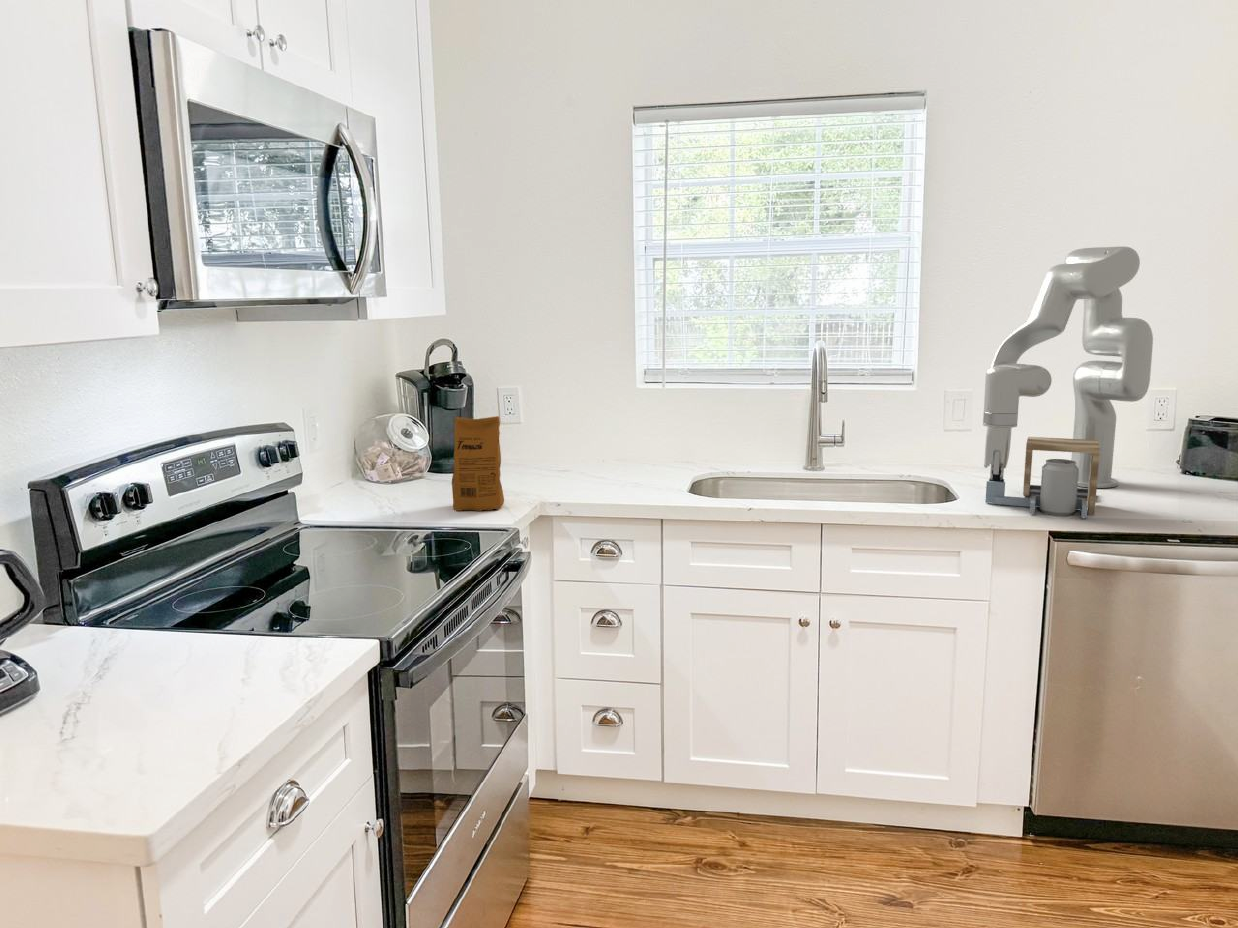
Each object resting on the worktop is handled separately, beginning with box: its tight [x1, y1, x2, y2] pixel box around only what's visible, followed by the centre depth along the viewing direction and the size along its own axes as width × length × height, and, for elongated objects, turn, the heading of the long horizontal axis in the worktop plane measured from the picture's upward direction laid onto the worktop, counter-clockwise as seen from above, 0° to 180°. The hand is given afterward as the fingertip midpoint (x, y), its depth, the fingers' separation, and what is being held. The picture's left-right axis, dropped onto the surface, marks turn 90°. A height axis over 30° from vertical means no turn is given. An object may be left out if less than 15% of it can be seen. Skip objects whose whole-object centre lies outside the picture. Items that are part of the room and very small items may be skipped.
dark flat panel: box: [1023, 484, 1088, 499], centre depth 229 cm, size 8×15×1 cm, turn 65°
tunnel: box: [1022, 436, 1100, 516], centre depth 216 cm, size 12×15×15 cm
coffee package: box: [451, 415, 505, 512], centre depth 223 cm, size 10×12×22 cm
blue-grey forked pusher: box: [985, 480, 1088, 519], centre depth 213 cm, size 10×21×5 cm, turn 65°
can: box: [1038, 458, 1079, 517], centre depth 211 cm, size 8×8×12 cm
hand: (995, 495), depth 224 cm, fingers closed
